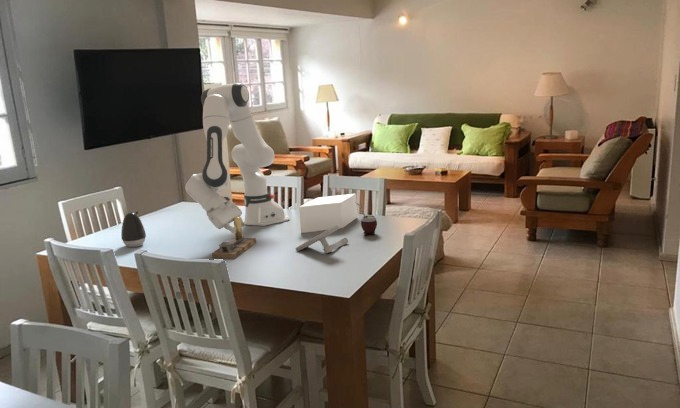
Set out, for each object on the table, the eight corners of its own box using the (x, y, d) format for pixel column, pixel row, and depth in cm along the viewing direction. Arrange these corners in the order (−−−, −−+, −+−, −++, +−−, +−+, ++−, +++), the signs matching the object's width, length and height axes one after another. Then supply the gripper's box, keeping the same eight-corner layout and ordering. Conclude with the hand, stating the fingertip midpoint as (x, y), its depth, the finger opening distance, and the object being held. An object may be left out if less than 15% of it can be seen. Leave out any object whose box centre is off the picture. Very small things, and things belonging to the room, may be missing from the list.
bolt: (238, 238, 245) (236, 215, 243) (245, 238, 245) (243, 215, 242) (229, 245, 236) (226, 221, 234) (235, 245, 235) (233, 221, 233)
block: (369, 220, 275) (368, 195, 272) (313, 236, 253) (311, 209, 250) (345, 215, 288) (344, 191, 285) (289, 230, 266) (287, 204, 263)
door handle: (304, 265, 232) (337, 247, 220) (295, 248, 233) (327, 229, 220) (329, 252, 246) (361, 235, 234) (320, 236, 247) (352, 217, 234)
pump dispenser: (151, 242, 257) (147, 209, 254) (139, 249, 247) (134, 215, 244) (131, 241, 259) (126, 209, 256) (118, 248, 249) (113, 215, 246)
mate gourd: (380, 233, 251) (379, 200, 248) (369, 237, 245) (367, 204, 242) (367, 231, 256) (366, 198, 253) (356, 235, 250) (354, 202, 247)
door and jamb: (234, 242, 250) (233, 231, 249) (255, 242, 247) (255, 231, 246) (212, 258, 229) (210, 246, 228) (235, 258, 226) (233, 246, 225)
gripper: (209, 206, 230) (233, 230, 230) (230, 196, 250) (252, 217, 249) (200, 217, 232) (224, 240, 232) (221, 205, 252) (244, 227, 251)
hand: (239, 228), depth 241 cm, fingers open, 8 cm apart
